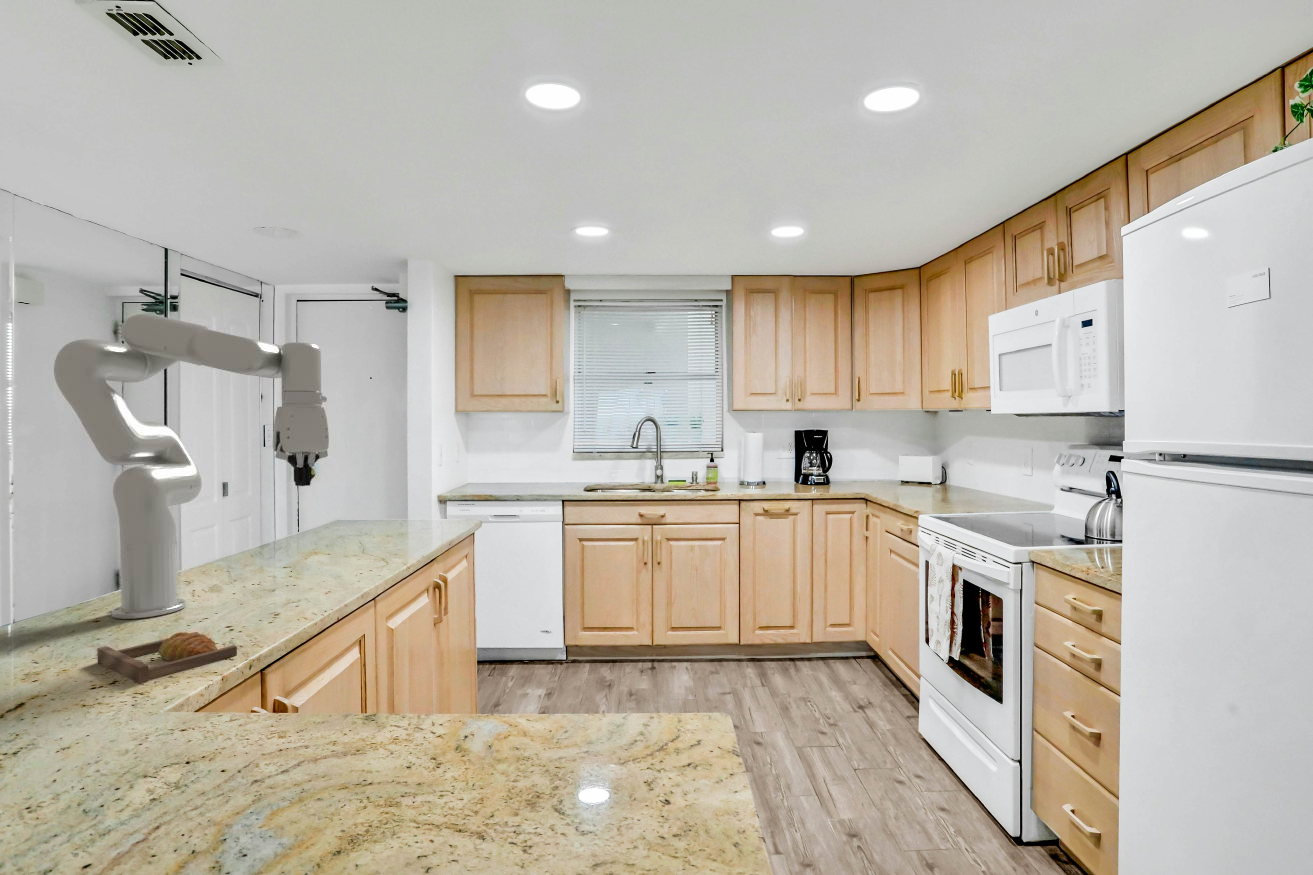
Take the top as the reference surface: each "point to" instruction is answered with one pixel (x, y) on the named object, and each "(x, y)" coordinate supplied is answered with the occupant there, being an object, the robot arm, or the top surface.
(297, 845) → the top surface
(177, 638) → the pastry
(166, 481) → the robot arm
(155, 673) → the bay
